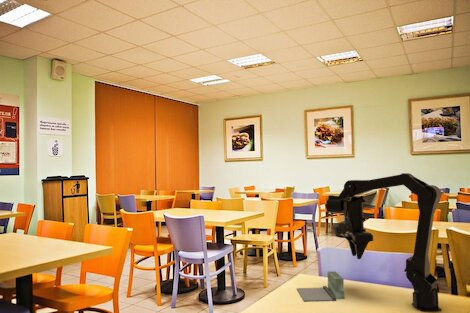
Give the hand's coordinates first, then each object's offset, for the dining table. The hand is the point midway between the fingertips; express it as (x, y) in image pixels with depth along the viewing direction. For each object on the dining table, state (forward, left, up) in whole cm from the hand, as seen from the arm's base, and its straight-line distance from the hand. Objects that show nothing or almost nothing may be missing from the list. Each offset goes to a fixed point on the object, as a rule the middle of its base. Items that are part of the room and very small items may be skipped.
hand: (356, 257), depth 134 cm
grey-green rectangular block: (+8, 0, -13) cm, 15 cm away
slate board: (+16, 0, -13) cm, 21 cm away
